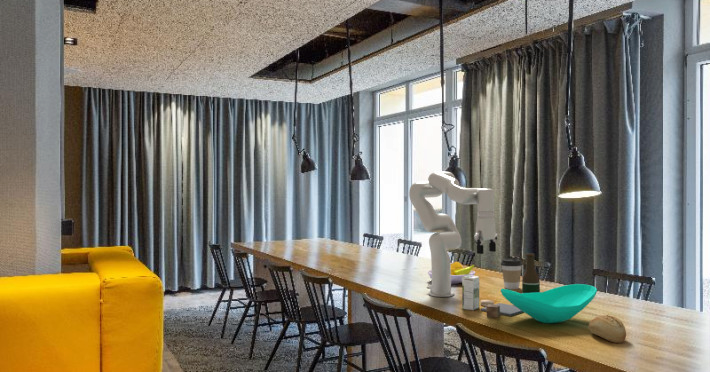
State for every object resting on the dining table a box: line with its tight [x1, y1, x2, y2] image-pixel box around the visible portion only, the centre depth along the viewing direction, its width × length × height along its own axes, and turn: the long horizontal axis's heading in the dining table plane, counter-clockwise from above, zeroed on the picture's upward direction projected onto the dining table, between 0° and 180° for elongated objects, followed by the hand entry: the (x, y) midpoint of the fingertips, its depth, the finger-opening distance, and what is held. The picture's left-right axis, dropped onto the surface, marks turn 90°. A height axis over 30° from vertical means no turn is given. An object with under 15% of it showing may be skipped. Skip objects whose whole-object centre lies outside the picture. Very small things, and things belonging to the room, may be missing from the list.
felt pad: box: [480, 302, 524, 317], centre depth 245 cm, size 15×15×1 cm
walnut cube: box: [485, 304, 501, 319], centre depth 235 cm, size 4×4×4 cm
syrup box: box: [461, 275, 480, 311], centre depth 250 cm, size 6×6×14 cm
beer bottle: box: [521, 252, 541, 293], centre depth 252 cm, size 8×8×24 cm
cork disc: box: [479, 299, 495, 307], centre depth 257 cm, size 6×6×2 cm
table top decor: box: [500, 283, 598, 324], centre depth 225 cm, size 40×28×13 cm
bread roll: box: [588, 314, 627, 344], centre depth 200 cm, size 10×15×8 cm, turn 18°
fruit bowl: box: [427, 261, 476, 285], centre depth 316 cm, size 28×27×11 cm
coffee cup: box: [500, 258, 523, 290], centre depth 296 cm, size 11×11×15 cm
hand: (486, 252), depth 256 cm, fingers open, 9 cm apart
